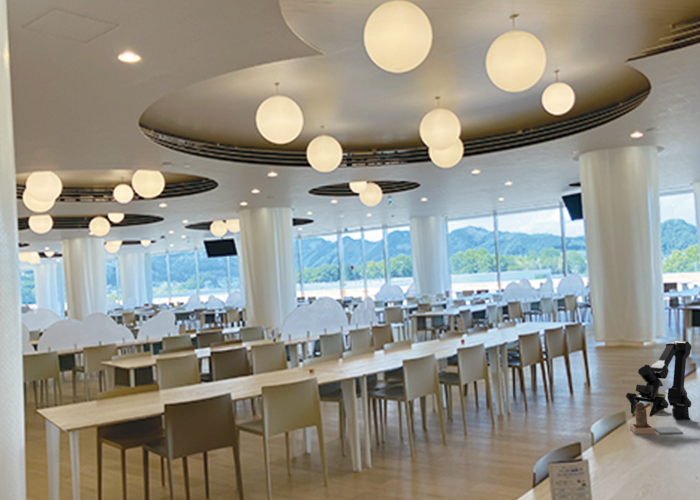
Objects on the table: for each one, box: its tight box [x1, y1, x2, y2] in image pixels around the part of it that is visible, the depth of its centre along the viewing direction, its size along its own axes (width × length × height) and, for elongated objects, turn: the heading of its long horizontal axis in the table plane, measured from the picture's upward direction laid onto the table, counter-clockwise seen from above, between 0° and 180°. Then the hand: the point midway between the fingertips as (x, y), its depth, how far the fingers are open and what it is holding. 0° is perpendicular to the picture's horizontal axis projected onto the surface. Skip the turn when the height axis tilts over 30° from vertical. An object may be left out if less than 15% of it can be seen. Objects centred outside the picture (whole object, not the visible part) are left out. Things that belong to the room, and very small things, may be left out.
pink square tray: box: [629, 423, 657, 435], centre depth 284 cm, size 9×9×2 cm
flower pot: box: [649, 392, 667, 413], centre depth 322 cm, size 9×9×9 cm
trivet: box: [653, 426, 684, 435], centre depth 281 cm, size 10×10×1 cm
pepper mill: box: [634, 401, 648, 428], centre depth 284 cm, size 5×5×14 cm
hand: (640, 414), depth 284 cm, fingers open, 9 cm apart
